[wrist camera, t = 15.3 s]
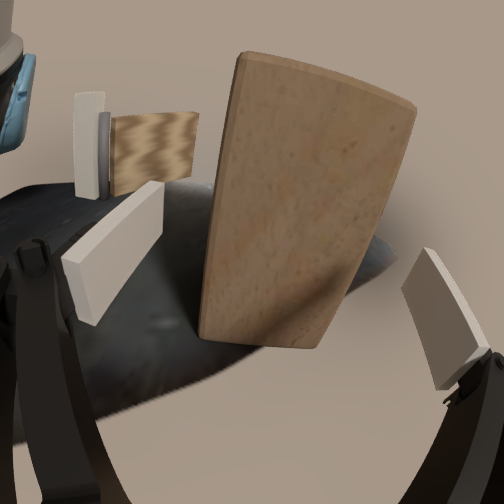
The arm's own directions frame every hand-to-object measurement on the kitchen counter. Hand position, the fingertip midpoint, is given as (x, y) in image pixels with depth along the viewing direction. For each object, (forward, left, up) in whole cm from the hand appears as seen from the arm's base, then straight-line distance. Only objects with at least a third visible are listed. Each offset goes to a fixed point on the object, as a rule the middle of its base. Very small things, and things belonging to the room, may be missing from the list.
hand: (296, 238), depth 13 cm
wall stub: (-28, +22, -12) cm, 38 cm away
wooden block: (0, +8, -12) cm, 14 cm away
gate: (-21, +30, -12) cm, 39 cm away
